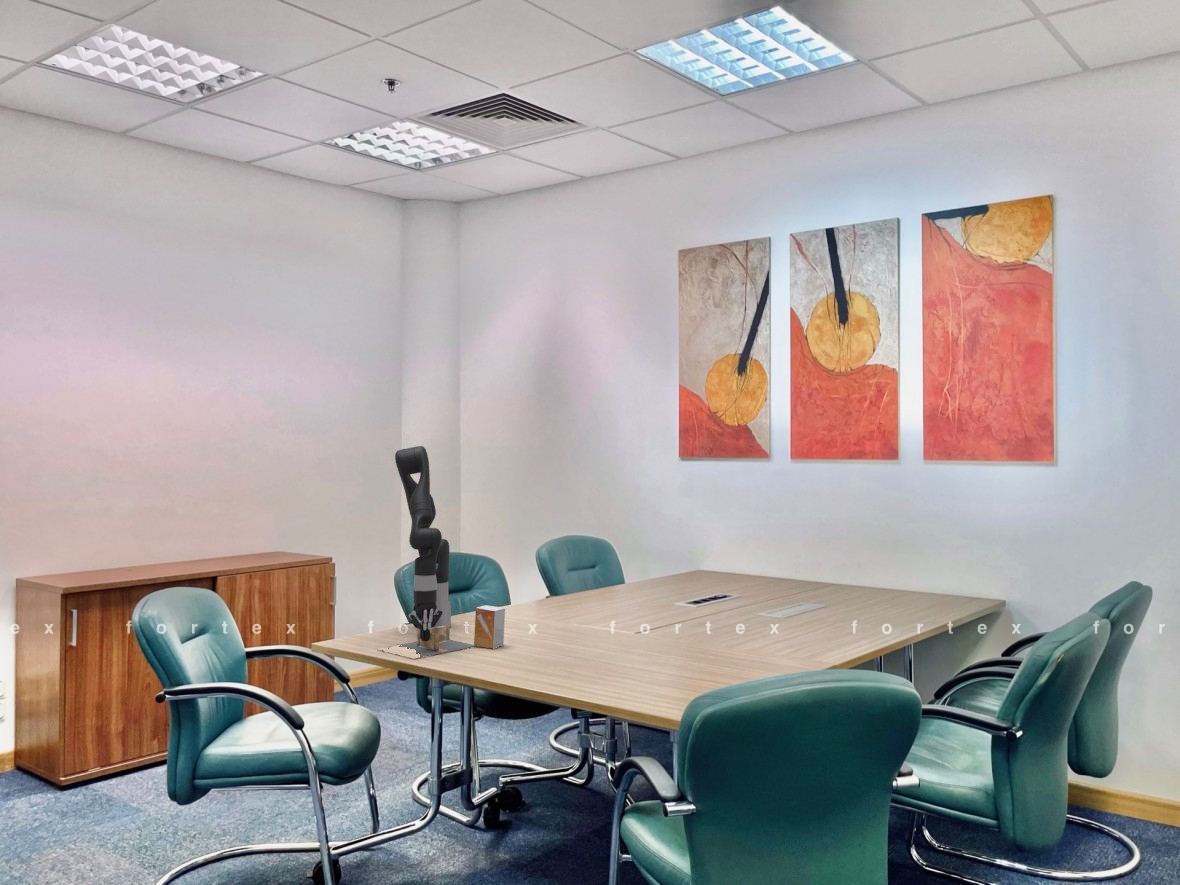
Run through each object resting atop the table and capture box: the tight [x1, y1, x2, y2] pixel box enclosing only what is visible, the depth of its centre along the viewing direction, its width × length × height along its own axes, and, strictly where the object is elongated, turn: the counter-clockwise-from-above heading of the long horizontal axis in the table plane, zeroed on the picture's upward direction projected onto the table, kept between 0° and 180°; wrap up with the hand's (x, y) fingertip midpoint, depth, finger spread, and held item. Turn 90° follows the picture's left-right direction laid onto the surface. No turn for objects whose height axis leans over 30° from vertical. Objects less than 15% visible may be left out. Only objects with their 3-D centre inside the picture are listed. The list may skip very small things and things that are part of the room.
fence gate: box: [420, 632, 439, 650], centre depth 325 cm, size 11×2×5 cm, turn 38°
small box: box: [473, 604, 506, 649], centre depth 330 cm, size 8×6×13 cm
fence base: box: [416, 624, 450, 646], centre depth 334 cm, size 13×2×6 cm, turn 136°
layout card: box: [388, 639, 477, 657], centre depth 327 cm, size 26×21×1 cm
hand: (424, 640), depth 322 cm, fingers closed
